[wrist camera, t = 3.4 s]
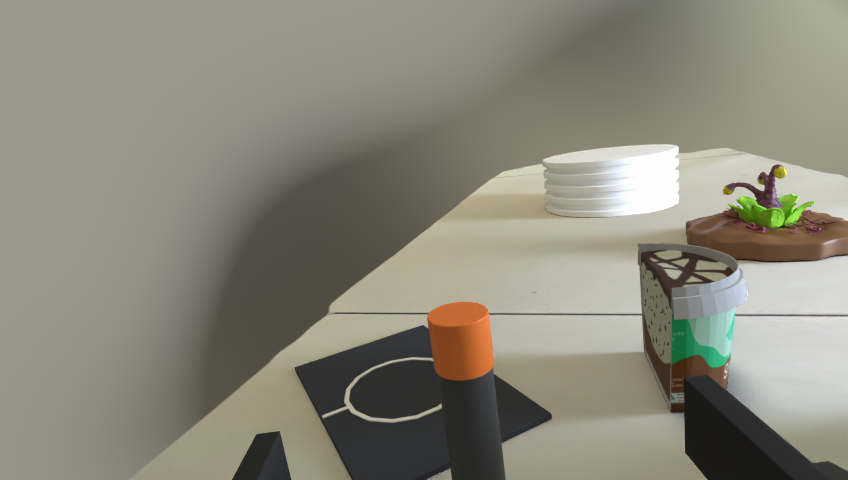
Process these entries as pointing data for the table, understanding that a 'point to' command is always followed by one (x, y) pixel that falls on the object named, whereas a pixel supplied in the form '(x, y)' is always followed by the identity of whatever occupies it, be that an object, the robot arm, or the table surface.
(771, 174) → the plant
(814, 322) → the table surface
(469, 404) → the marker
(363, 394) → the desk mat
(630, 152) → the plate stack
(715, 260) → the food container
